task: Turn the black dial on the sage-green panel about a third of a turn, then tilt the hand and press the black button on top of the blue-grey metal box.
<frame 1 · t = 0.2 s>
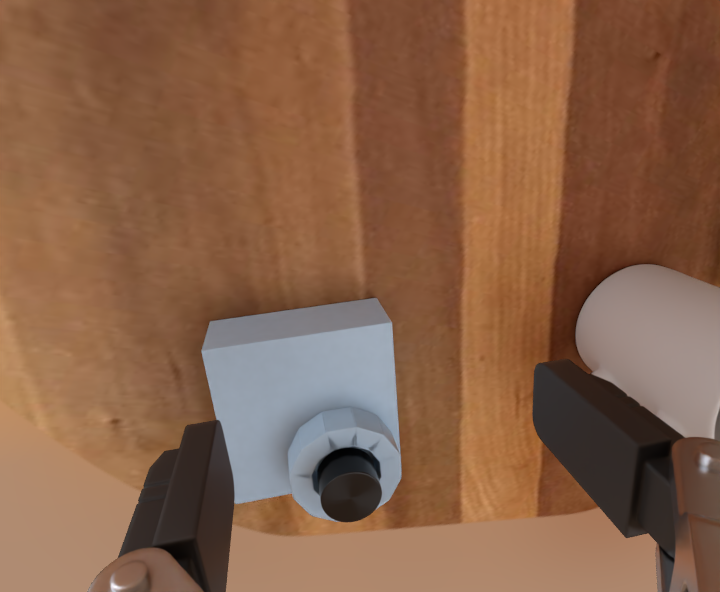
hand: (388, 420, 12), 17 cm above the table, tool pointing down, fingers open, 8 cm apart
button box: (305, 381, 31), on the table
mug: (606, 334, 34), on the table
button: (348, 484, 26), point 7 cm above the table, slide at 0.1 cm
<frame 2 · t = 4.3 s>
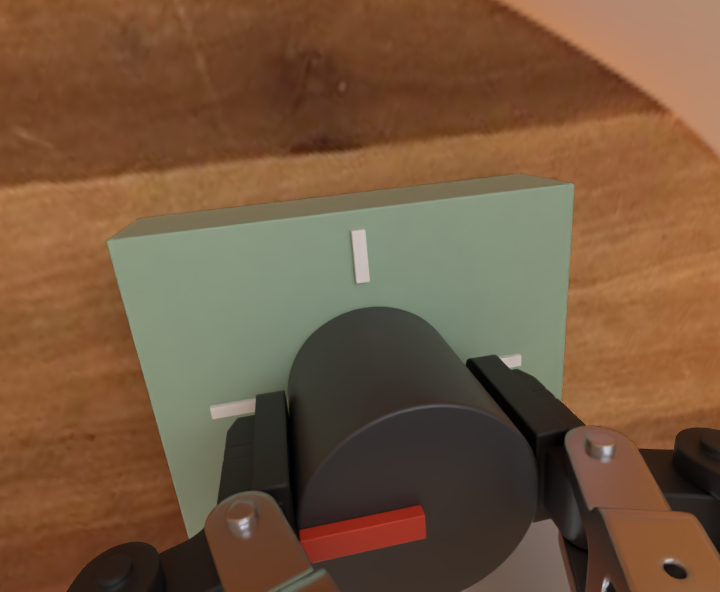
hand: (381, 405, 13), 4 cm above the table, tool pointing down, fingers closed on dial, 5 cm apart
panel: (354, 340, 17), on the table
dial: (394, 440, 11), point 6 cm above the table, hinge at 0.0°, touching gripper
mug: (554, 577, 23), on the table
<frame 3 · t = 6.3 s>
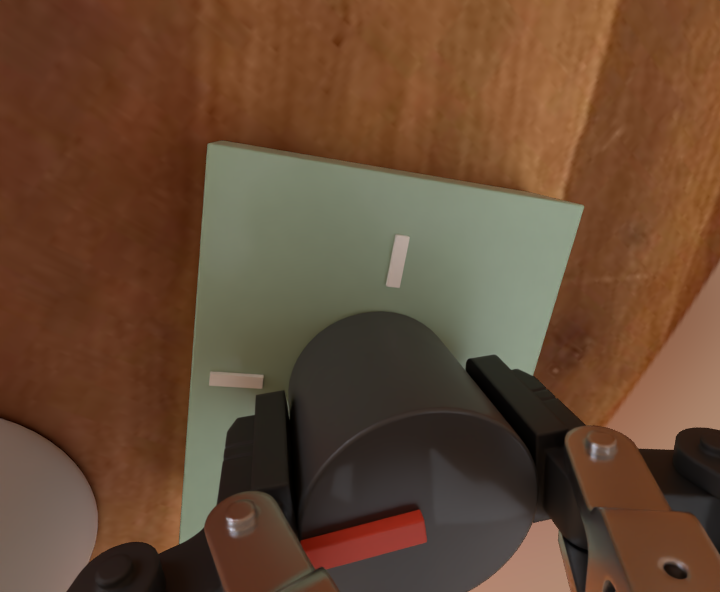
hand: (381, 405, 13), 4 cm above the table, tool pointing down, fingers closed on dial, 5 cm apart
panel: (354, 344, 17), on the table
dial: (394, 444, 11), point 6 cm above the table, hinge at 108.6°, touching gripper
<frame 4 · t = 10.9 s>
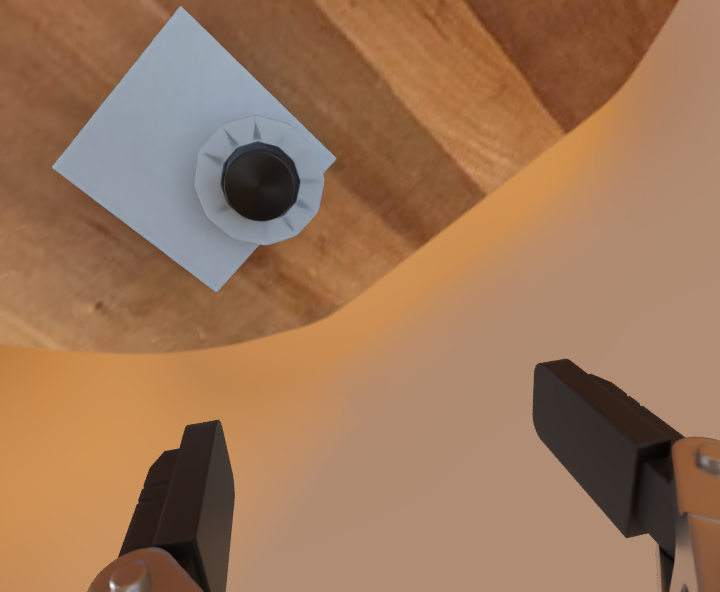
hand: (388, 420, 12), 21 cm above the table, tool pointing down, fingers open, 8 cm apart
button box: (209, 158, 28), on the table
button: (260, 184, 23), point 7 cm above the table, slide at 0.1 cm
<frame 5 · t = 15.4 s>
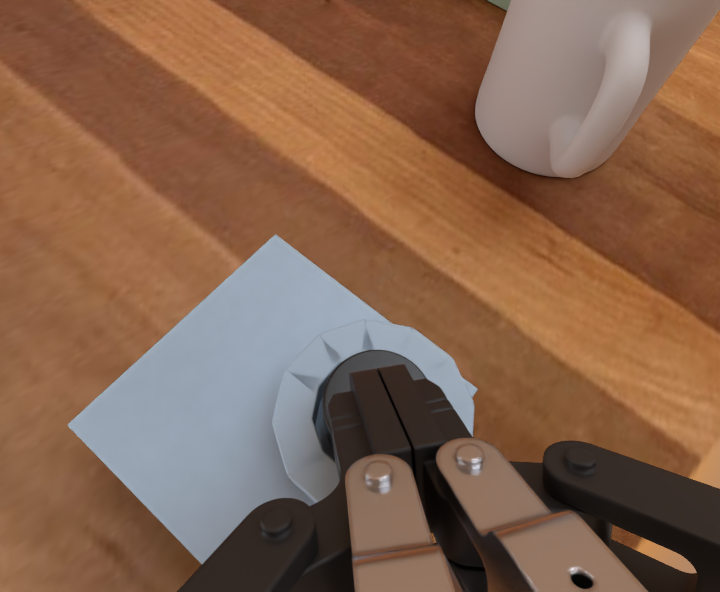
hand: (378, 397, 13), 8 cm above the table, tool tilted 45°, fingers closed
button box: (289, 427, 20), on the table
mug: (541, 146, 28), on the table
button: (375, 410, 15), point 6 cm above the table, slide at -0.2 cm, touching gripper
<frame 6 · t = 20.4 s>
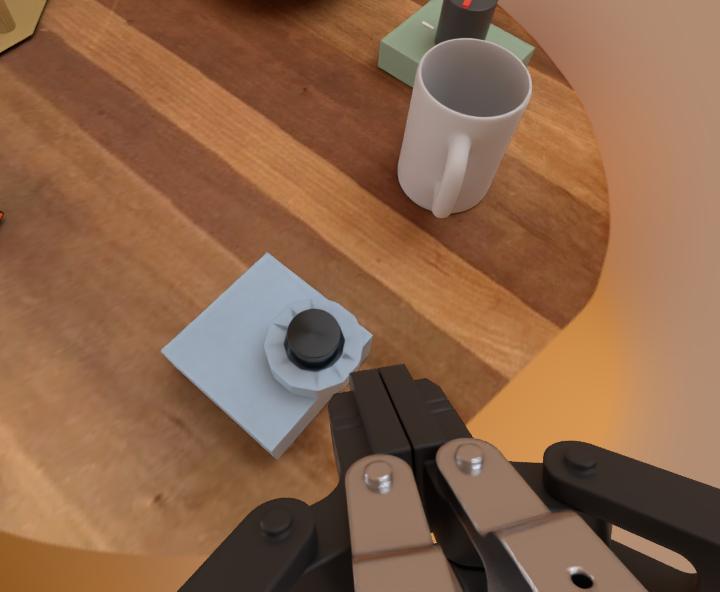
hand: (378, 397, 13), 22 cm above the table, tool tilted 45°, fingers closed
button box: (275, 361, 36), on the table
panel: (451, 69, 51), on the table
dial: (465, 18, 46), point 6 cm above the table, hinge at 107.4°
mug: (439, 192, 44), on the table
button: (314, 338, 30), point 7 cm above the table, slide at 0.1 cm
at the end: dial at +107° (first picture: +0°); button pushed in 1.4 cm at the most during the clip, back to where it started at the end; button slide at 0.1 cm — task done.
